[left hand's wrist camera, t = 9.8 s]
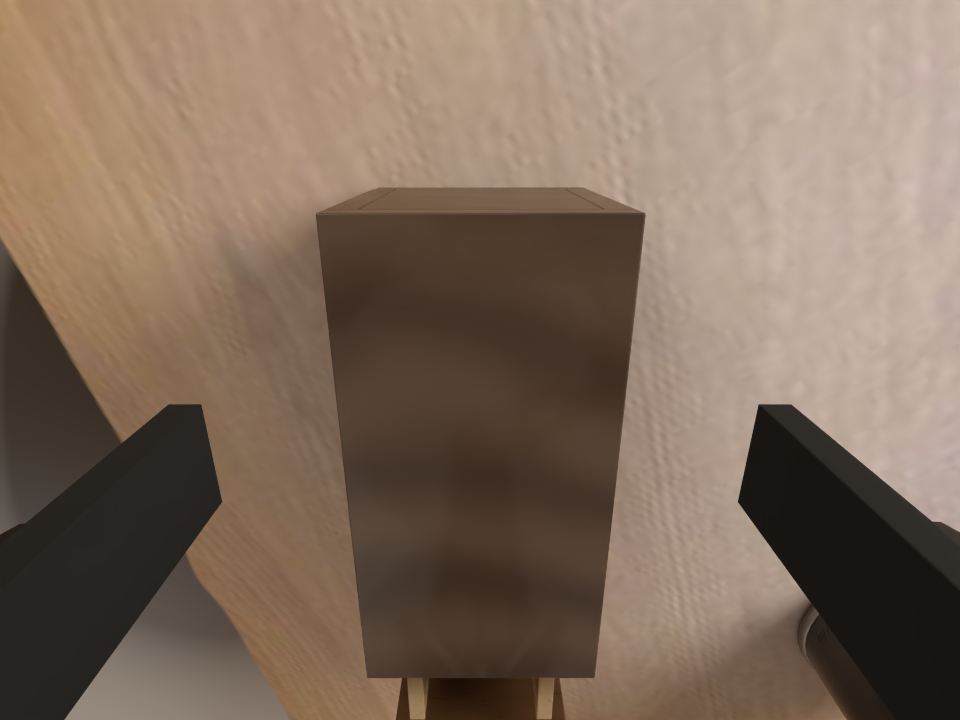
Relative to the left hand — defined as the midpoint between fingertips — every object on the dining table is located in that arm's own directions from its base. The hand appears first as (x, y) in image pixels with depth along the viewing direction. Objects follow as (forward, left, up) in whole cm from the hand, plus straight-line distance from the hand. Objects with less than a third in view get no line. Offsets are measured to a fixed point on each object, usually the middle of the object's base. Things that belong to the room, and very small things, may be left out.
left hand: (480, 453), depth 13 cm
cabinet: (+6, -1, -18) cm, 18 cm away
